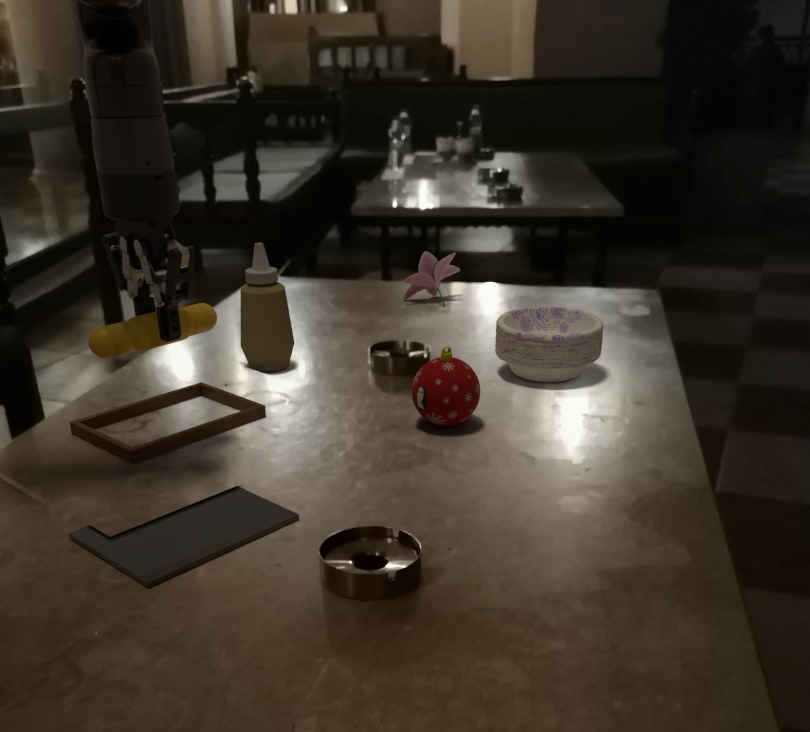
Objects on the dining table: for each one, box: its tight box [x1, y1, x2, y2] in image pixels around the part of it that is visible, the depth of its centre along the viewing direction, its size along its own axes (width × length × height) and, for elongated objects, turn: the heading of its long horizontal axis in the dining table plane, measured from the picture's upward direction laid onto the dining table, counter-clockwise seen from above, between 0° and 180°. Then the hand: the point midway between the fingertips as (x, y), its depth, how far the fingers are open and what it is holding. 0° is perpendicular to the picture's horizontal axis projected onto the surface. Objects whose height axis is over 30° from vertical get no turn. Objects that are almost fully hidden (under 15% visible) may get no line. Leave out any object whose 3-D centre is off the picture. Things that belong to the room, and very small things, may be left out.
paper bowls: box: [494, 306, 604, 383], centre depth 131 cm, size 15×15×8 cm
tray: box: [69, 381, 267, 465], centre depth 113 cm, size 20×14×2 cm
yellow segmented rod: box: [88, 302, 218, 359], centre depth 98 cm, size 16×4×4 cm, turn 138°
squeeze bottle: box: [240, 242, 295, 372], centre depth 132 cm, size 8×8×18 cm
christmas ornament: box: [411, 346, 481, 427], centre depth 113 cm, size 9×9×10 cm
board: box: [68, 485, 300, 589], centre depth 91 cm, size 18×14×1 cm
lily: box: [402, 250, 461, 307], centre depth 167 cm, size 12×12×10 cm
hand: (159, 335), depth 98 cm, fingers closed on yellow segmented rod, 3 cm apart
